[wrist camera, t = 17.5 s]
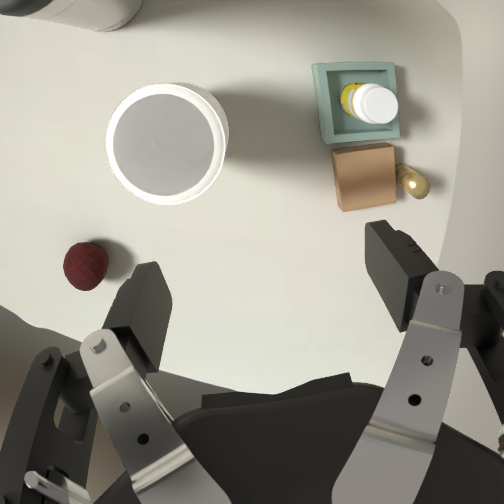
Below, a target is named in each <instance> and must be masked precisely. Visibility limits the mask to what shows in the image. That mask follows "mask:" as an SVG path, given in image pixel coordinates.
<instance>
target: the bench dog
mask: <svg viewBox="0 0 504 504" xmlns="http://www.w3.org/2000/svg"><path fill="white" fill-rule="evenodd" d="M395 177H396V183H397V184H398V185H400V186H401V187H402V188H403V189H404V190H406V191H407V192H408V193H409V194H411V195H412V196H413V197H414V198H416V199H423V198H425V197H426V196H427V195H428V193H429V191H430V183H429V181H428V180H427V179H426V178H425V177H423V176H422V175H420V174H418V173H417V172H415V171H414V170H412V169H411V168H409V167H408V166H406V165H404V164H399V165H397V166H396V167H395Z"/></svg>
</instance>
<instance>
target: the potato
mask: <svg viewBox="0 0 504 504" xmlns="http://www.w3.org/2000/svg"><path fill="white" fill-rule="evenodd" d="M107 268H108V257H107V254H106V253H105V252H104V250H103V249H101V248H100V247H98V246H96V245H94V244H91V243H87V242H83V243H77V244H75V245H73V246H72V247H70V249H69V251H68V252H67V254H66V255H65V259H64V264H63V269H64V273H65V276H66V277H67V279H68V281H69V282H70V283H71V284H72V285H73V286H74V287H75V288H77V289H79V290H82V291H89V290H92V289H94V288H95V287H96V286H97V285H98V284H99V283H101V281H102V280H103V278H104V276H105V274H106V271H107Z"/></svg>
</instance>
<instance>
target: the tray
mask: <svg viewBox="0 0 504 504" xmlns="http://www.w3.org/2000/svg"><path fill="white" fill-rule="evenodd" d="M312 71H313V77H314V84H315V91H316V98H317V106H318V114H319V122H320V130H321V139H322V140H323V141H324V142H325V143H326V144H331V143H341V142H351V141H363V140H376V139H391V138H400V128H399V110H398V112H397V114H396V116H395V118H394V119H393V120H392V121H390V122H388V123H384V124H379V123H378V124H371V123H367V122H364V121H361V120H359V119H356V118H354V117H351V116H349V115H347V114H346V113H345V112H344V111H343V110H342V108H341V107H340V104H339V94H340V91H341V90H342V88H343V87H344V86H345V85H347V84H349V83H354V82H359V83H374V84H378V85H380V86H382V87H384V88H386V89H388V90H390V91H391V92H392V93H393V94H394V95H395V97H396V99H397V101H398V97H397V86H396V76H395V67H394V62H337V63H318V64H313V65H312Z"/></svg>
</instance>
